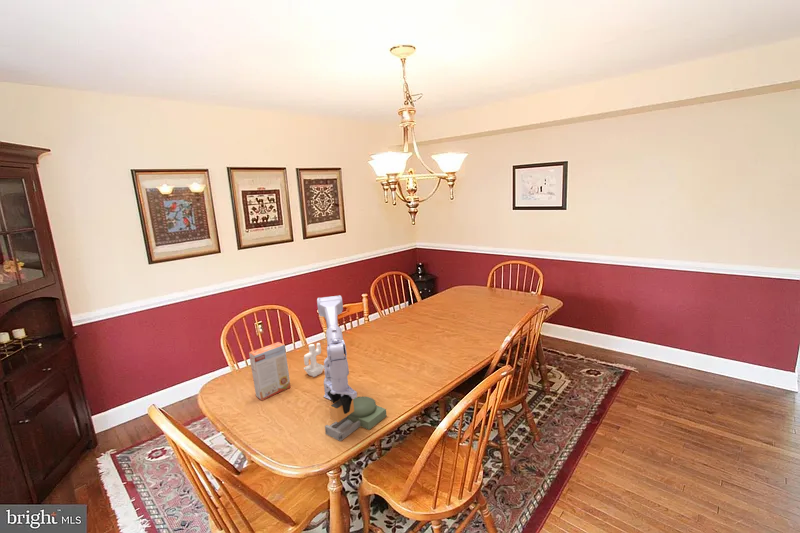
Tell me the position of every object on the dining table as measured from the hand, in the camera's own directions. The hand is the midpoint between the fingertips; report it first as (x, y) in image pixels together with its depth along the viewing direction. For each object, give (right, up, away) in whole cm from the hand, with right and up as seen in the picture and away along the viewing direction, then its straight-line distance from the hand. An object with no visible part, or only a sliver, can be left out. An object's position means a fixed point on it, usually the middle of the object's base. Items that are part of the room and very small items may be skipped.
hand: (342, 410), depth 138 cm
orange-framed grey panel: (0, -2, 0) cm, 2 cm away
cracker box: (-35, -4, +31) cm, 47 cm away
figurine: (-20, 0, +45) cm, 49 cm away
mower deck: (+3, -7, +5) cm, 9 cm away
